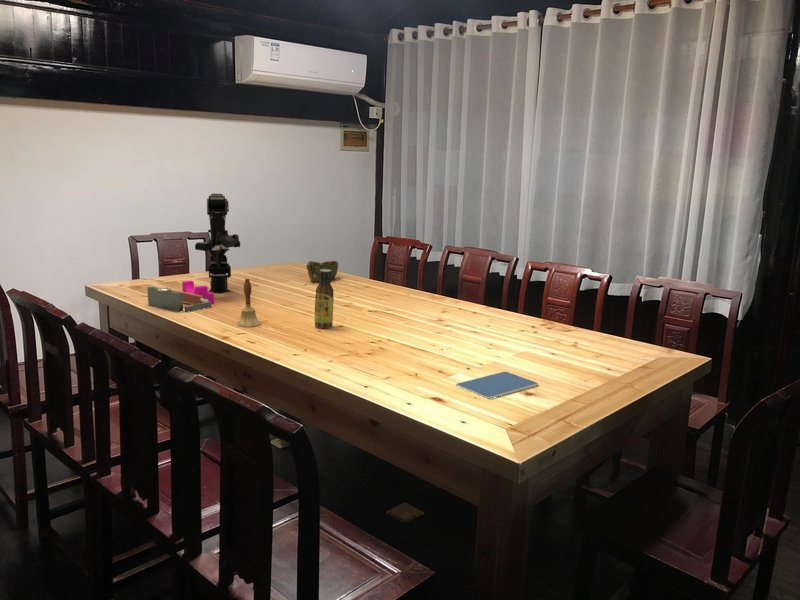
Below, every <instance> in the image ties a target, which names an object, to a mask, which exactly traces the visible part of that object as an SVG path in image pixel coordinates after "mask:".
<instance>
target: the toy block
mask: <svg viewBox="0 0 800 600" xmlns="http://www.w3.org/2000/svg"><path fill="white" fill-rule="evenodd" d="M181 283H182V284H181V285H182V292H187V293H192V294H196V295H201V296H203V299H204V295H206V299H207V300H208V302H209V301H210V302H211V304H213V305H215V292H212V291H209V289H208V288H209V287H208V285H206V284H205V285H204V284H203V285H196V286H195V282H194V281H193V280H183V281H182V282H181ZM203 303H204V302H203Z"/></svg>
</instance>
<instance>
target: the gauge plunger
mask: <svg viewBox="0 0 800 600" xmlns="http://www.w3.org/2000/svg"><path fill="white" fill-rule="evenodd" d="M171 291H176V292H181V293H182V297H183V303H186V304H190V305H192V304H198V303H203V302H208V300H207V299H206V295H204V299H203V296H201V295H196V294H192V293H187V292H183V290H182V291H180V290H177V289H172V290H171Z"/></svg>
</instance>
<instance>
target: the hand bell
mask: <svg viewBox="0 0 800 600" xmlns="http://www.w3.org/2000/svg"><path fill="white" fill-rule="evenodd" d="M243 294H244V297H245V307H244V308H242V309H241V315H240V319H239V320H238V321H237V323H236V324H237V325H238V326H237V325H236V326H237V327H240V326H241V327H242V328H252V327H253V328H254V326H255V327H259V326H260V324H261V325H262V323H261V321H260V320H259V319H258V317H257V313H256V309H255V308H254V307H252V305H251V304H252V303H251V294H252V283H251V282H250V279H249V278H245V280H244V283H243ZM258 325H259V326H258ZM241 327H240V328H241Z"/></svg>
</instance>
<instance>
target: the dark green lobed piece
mask: <svg viewBox="0 0 800 600" xmlns="http://www.w3.org/2000/svg"><path fill="white" fill-rule="evenodd" d="M322 269H327V270H331V279H330V281H331V282H332V281H334V280H335V278H336V276H337V274H338V271H339V270H338V269H339V261H337V260H329V261H323V262H318V261H311V260H310V261H308V262H307V264H306V270H307V273H308V274H307V275H308V277H309V279H310V281H311V282H312V283H316V284H319V281H320V275H319V270H322Z"/></svg>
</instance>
